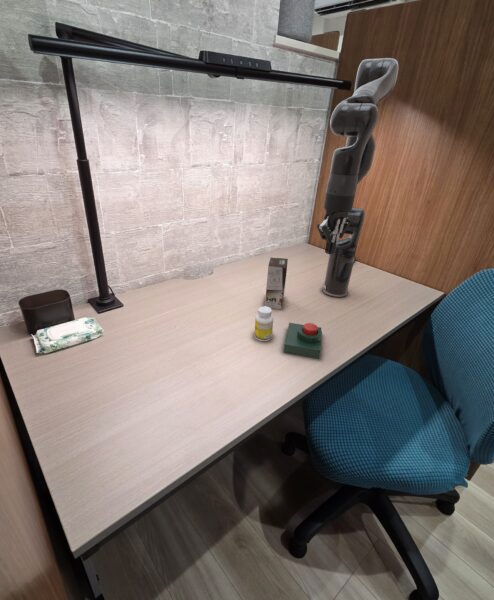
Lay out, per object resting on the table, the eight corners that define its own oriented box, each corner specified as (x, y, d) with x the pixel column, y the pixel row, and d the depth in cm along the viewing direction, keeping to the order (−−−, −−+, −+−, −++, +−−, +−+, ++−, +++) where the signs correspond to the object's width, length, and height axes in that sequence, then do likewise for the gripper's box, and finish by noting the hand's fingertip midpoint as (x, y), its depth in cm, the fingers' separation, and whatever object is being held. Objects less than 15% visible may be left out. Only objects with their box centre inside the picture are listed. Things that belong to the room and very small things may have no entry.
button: (303, 327, 95) (304, 322, 94) (316, 329, 94) (317, 324, 93) (302, 334, 91) (303, 329, 90) (316, 336, 90) (317, 331, 90)
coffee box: (282, 309, 113) (286, 267, 105) (264, 307, 114) (267, 265, 106) (283, 297, 121) (288, 258, 113) (267, 295, 122) (270, 256, 114)
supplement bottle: (256, 330, 101) (258, 303, 96) (273, 333, 99) (276, 306, 95) (252, 339, 96) (254, 312, 91) (269, 343, 95) (272, 315, 90)
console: (288, 330, 101) (289, 317, 99) (319, 335, 99) (322, 322, 97) (283, 352, 91) (285, 338, 89) (318, 359, 89) (321, 344, 87)
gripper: (336, 197, 77) (325, 262, 86) (367, 191, 85) (353, 252, 93) (313, 191, 83) (304, 254, 91) (343, 187, 90) (333, 245, 98)
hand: (329, 253), depth 92 cm, fingers closed
